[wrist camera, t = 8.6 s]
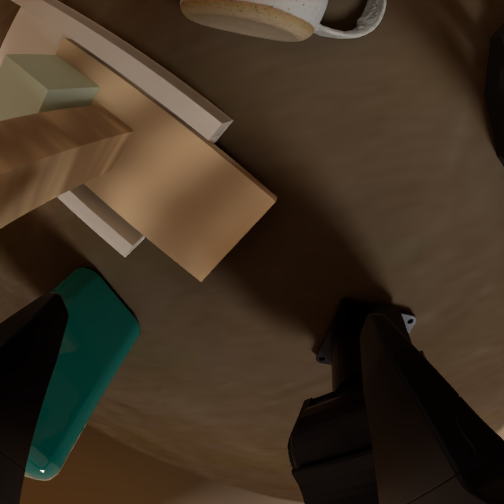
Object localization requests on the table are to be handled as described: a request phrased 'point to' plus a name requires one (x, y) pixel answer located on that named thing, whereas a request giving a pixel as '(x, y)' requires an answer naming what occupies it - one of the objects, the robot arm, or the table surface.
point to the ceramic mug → (277, 18)
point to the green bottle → (80, 368)
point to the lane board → (128, 64)
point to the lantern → (496, 90)
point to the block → (41, 85)
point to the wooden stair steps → (132, 168)
